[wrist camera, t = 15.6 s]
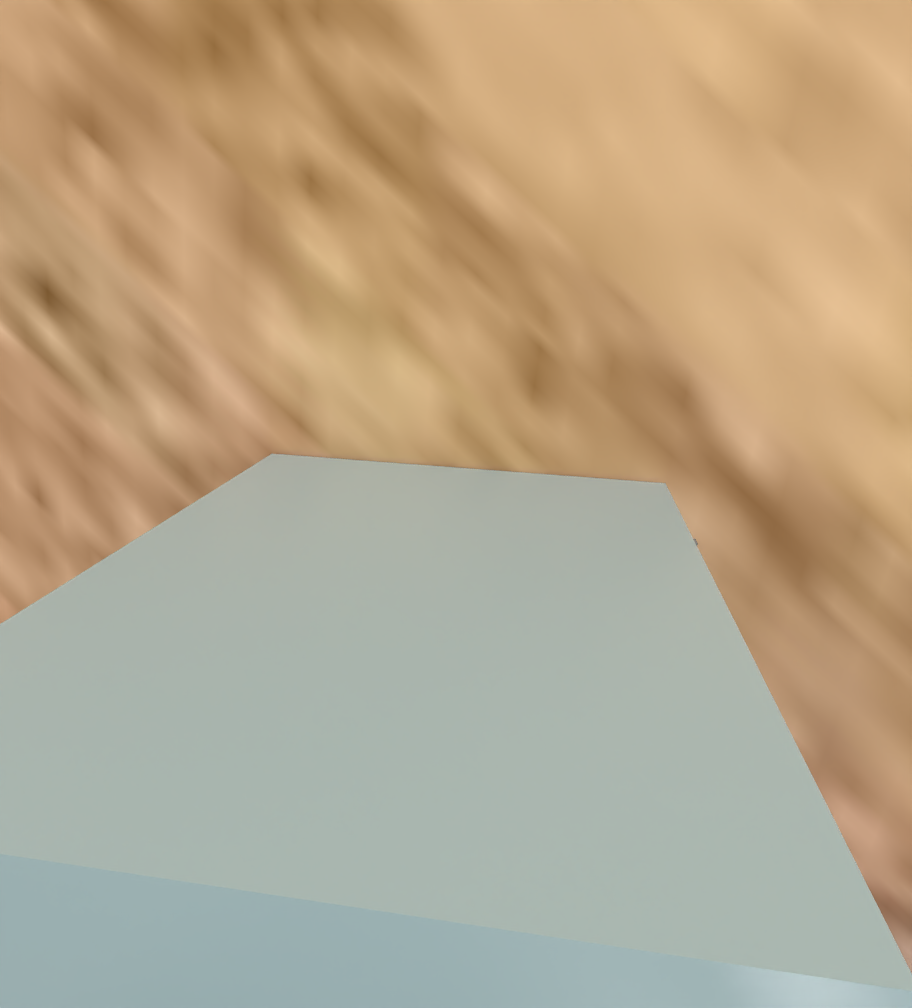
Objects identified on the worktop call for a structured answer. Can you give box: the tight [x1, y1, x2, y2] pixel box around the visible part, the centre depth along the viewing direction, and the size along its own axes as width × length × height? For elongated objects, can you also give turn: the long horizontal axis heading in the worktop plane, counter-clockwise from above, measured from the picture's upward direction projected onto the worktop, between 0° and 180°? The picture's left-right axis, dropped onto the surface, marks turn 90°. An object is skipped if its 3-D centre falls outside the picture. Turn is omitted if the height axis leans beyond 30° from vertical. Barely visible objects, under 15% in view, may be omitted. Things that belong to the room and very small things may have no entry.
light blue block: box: [0, 454, 912, 1008], centre depth 9 cm, size 7×10×9 cm
